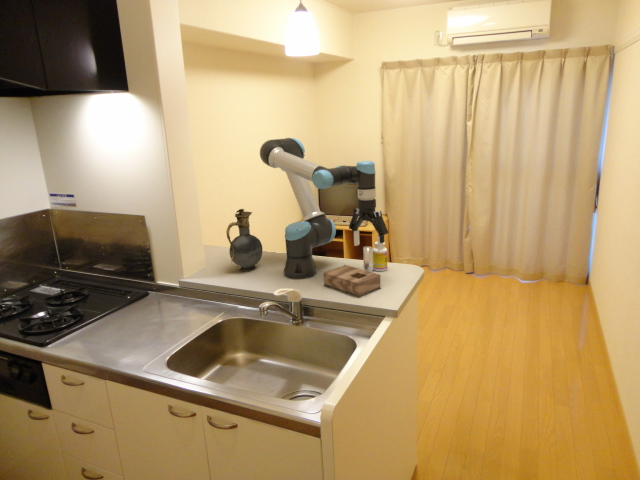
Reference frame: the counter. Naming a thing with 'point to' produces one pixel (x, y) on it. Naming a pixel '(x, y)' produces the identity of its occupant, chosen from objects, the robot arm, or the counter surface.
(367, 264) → the pin
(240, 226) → the pitcher
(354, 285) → the socket block
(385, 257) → the supplement bottle
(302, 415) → the counter surface
